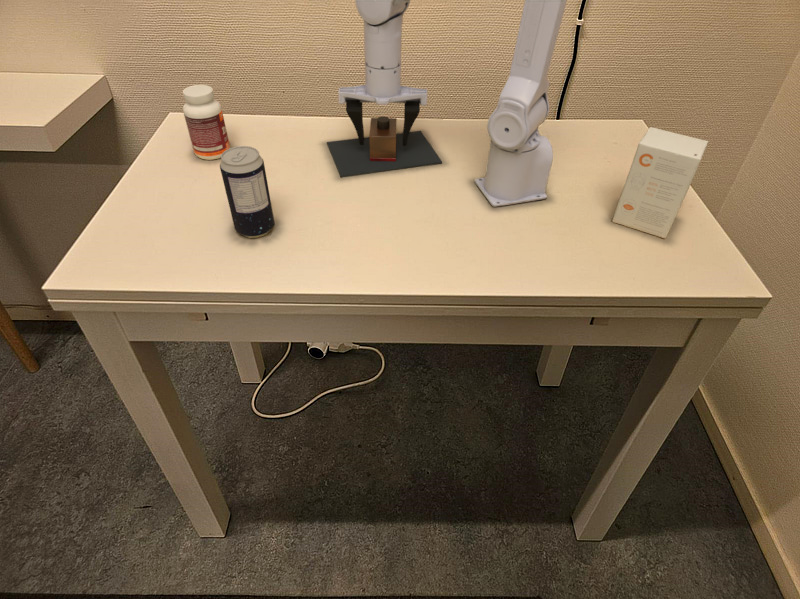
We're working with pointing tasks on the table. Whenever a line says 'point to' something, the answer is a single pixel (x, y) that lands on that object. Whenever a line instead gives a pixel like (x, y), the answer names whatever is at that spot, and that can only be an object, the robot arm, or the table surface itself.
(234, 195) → the beverage can
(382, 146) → the stamp
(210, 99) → the pill bottle
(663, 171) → the small box
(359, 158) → the desk mat
